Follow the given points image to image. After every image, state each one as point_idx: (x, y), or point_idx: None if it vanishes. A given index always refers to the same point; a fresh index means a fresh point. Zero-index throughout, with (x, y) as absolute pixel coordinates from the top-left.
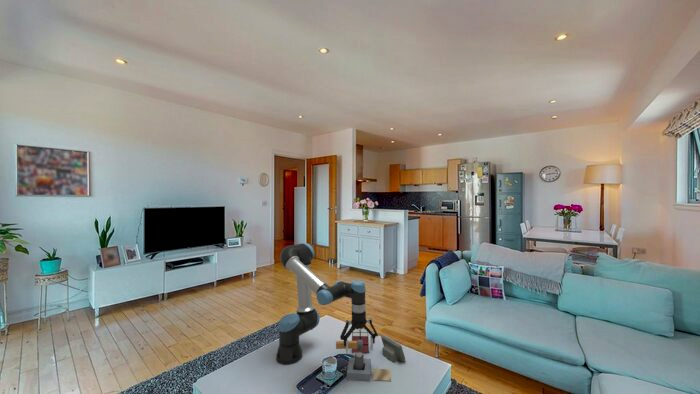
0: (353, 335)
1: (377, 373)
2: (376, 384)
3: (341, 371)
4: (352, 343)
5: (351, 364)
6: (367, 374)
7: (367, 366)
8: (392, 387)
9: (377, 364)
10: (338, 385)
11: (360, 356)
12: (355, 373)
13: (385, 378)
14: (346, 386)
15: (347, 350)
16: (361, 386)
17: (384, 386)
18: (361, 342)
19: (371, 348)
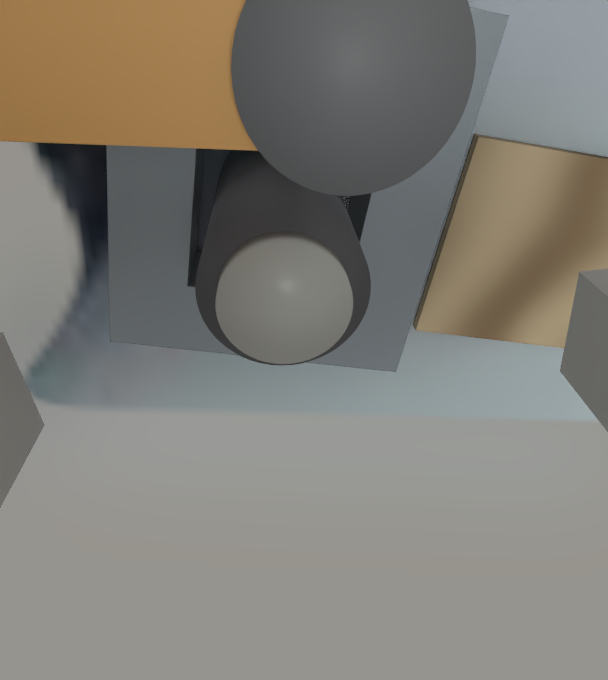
0: None
1: (495, 236)
2: (429, 373)
3: (32, 142)
4: (90, 140)
5: (159, 166)
6: (364, 366)
7: (398, 230)
8: (557, 409)
9: (575, 4)
10: (51, 373)
11: (305, 353)
12: (222, 351)
13: (548, 320)
14: (136, 387)
15: (9, 474)
16: (282, 391)
17: (493, 397)
18: (401, 165)
19: (582, 373)
